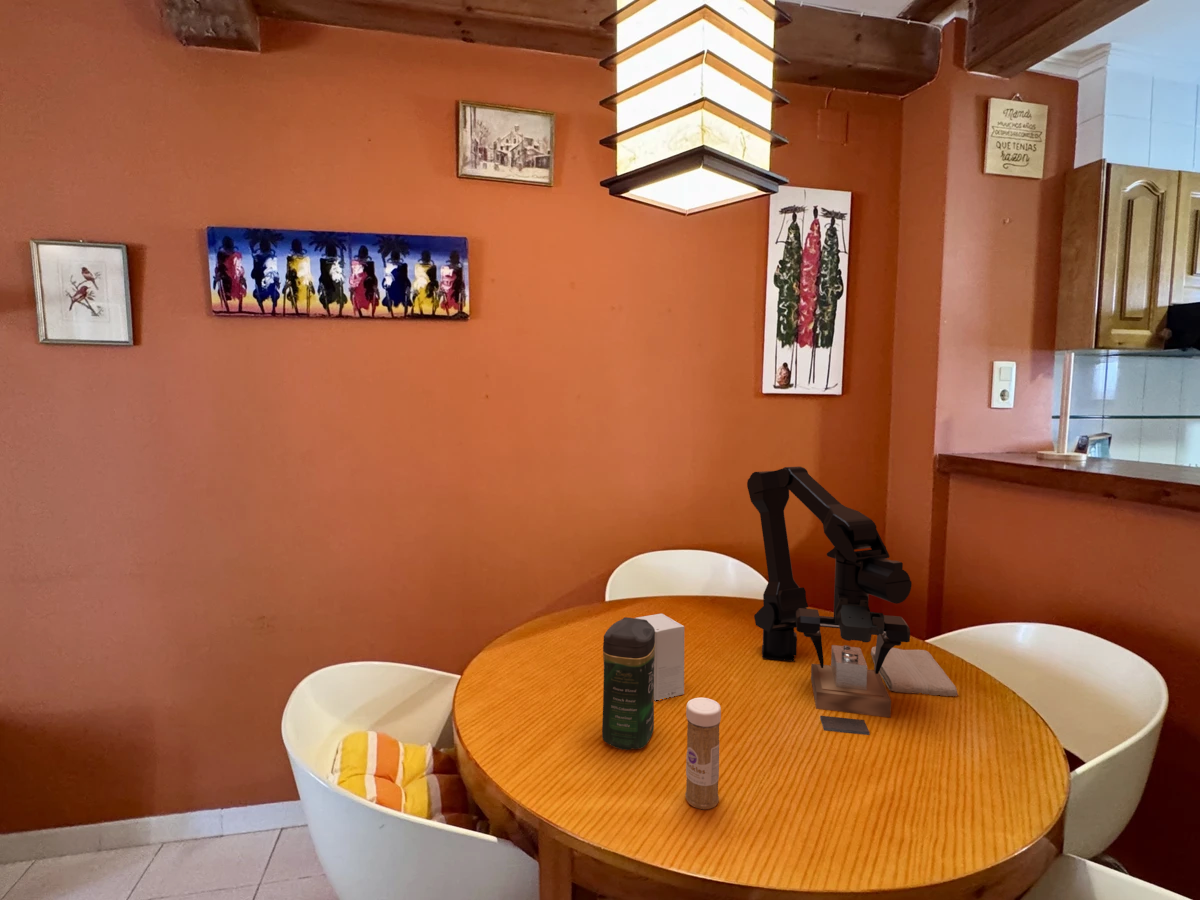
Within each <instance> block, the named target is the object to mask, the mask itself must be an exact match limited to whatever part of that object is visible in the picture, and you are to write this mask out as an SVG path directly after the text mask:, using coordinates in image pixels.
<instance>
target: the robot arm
mask: <svg viewBox="0 0 1200 900" xmlns="http://www.w3.org/2000/svg"><path fill="white" fill-rule="evenodd" d="M746 488H747V491H748V495H749V498H750V502H751V504H752V505H753V506H754V508H755V509H756V510H757V511H758V513H759V517H760V522H761V523H760V526H761V531H762V538H763V540H762V541H763V546H764V547H763V548H764V554H765V562H766V568H767V569H766V570H767V574H768V575H767V578H768V583H767V585H766V586H765V590H764V591H763V595H762V598H763V599H762V600H763V602H762V603H763V606H762V607H761V608H760V609H759V610H757V612H755V614H754V615H753V616H754V617H753V618H754V623H755V626H756V627H758V628H760V629H762V645H761V658H762V659H766V660H775V661H783V662H784V661H785V662H786V661H787V662H794V661H795V656H797V649H798V647H797V644H798V636H797V632H799V633H803V636H804V637H805V638H810V640H811V642H812V644H813V646H814V648H815V652H816V655H817V659H818V663H819V664H820V666H821V668H823V665H825V663H824V662H825V661H824V652H823V651H824V650H823V640H822V633H821V628H830V629H831V628H832V629H839V632H840V633H839V634H840V637H841V639H842V640H844V641H848V642H850V641H859V642H862V643H870V642H871V640H872V636H873V635H874V636H876V643H875V644H876V645H875V647H876V652H875V661H874V662H873V664H874V669H873V670H875V674H878V673H879V670H880V668H881V666H882V664H883V662H884V660H885V657H886V655H887V654H888V652H889V651H890V649H891V648H895V647H897V646H898V647H899V646H901V645H902V643H909V642H910V641H911V640H910V639H911V631H910V630H911V629H910V626H909V625H908V623H907V622H906V621H905V619H904V618H903V617H902V616H897V615H885V614H884V613H883V612H877V611H876V612H874V611H871V609H870V607H869V599H870V597H869V595H871V596H873V597H876V598H878V599H882V600H884V601H886V602H889V603H892V604H897V605H898V604H900V603H903V602H905V600H906V599H907V598H908V597H909V595H910V594H911V591H912V585H913V584H912V580H911V578H910V575H909V573H908V572H907V571H906V570H905V569H903V567H904V565H903V562H902V561H899V560H891V559H890V554H889V552H888V549H887V547H886V546H885V543H884V542H883V540H882V538H881V535H880V534H879V532H878V530H877V528H878V527H877V525H876V523H875V522H874V520H872V518H870V517H868V516H867V515H865V514H864V513H862V512H860V511H858V510H855V509H853V508H850V507H848V506H846V505H844V504H842V503H841V502H840V501H839V500H837V499H836V498H835V496H833V494H831V493H830V492H829V491H827V489H826V488H824V487H823V486H822V485H821V484H820V483H819V482H818V481H817V480H816V479H815V478H813V476H811V475H810V474H809V472H808V470H807V468H805V467H802V466H785V467H783V468H779V469H776V470H765V471H763V470H761V471H754V472H752V473H751V474H750V476H749V478H748V479H747V482H746ZM790 492H791V493H792V494H793V495H794V496H795V497H796V498H797V499H798V501H800V502H801V503H802V504H803V505H804V506H805V507H806V508H807V509H808V510H809V511H810V513H812V514H813V515H814V516H815V517H816V518H817V519H818V520H819V521H820V522H821V524H822V526H823V533H824V535H825V536H826V537H827V539H828V541H830V543H831V545H832V546H833V548H832V549H831V550H828V552H826V556H827V558H832V559H835V560H834V561H835V563H834V564H835V567H834V591H833V593H834V594H833V596H834V597H833V599H834V600H833V616H827V615H825V616H824V615H820V613H819V609H815V608H814V609H813V608H809V605H808V601H807V592H806V589H805V587H800V585H798V583H797V582H796V581H795V579H794V574H793V568H792V559H791V554H790V553H791V552H790V545H789V540H788V532H787V526H786V517H785V509H786V506H787V505H788V502H789V499H790ZM861 549H862V550H861ZM795 628H796V631H797V632H795ZM879 674H880V673H879Z"/></svg>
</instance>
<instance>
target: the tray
mask: <svg viewBox="0 0 1200 900" xmlns="http://www.w3.org/2000/svg"><path fill="white" fill-rule="evenodd" d="M810 666H811V667H810V680H811V681H810V682H811V686H812V693H813V696H814V703H815V709H816V710H817V709H819V710H827V711H833V712H834V711H835V712H842V713H850V714H852V713H853V714H859V715H860V714H861V715H866V716H874V717H876V716H877V717H885V718H891V714H892V713H891V710H892V700H891V697H890V695H889V692H888V690H887V688H886V686H885V685H886V684H885V682H884V680H883V678H882V676H881V675H880V673H878V674H875V669H869V668H867V686H866V690H858V689H849V688H840V687H836V685H835V681H834V677H833V673H832V670H831V664H830V665H828V664H824V665H823V668H821V666H820V663H811V665H810Z"/></svg>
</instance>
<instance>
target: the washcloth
mask: <svg viewBox="0 0 1200 900" xmlns="http://www.w3.org/2000/svg"><path fill="white" fill-rule="evenodd" d="M875 652H876V646H872V648H871V651H870V656H871V659H872V662H873V663H874V661H875ZM879 674H880V676H881V678H882V680H883V682H884V684H885V685H886V687H887V689H888V690H889V691H891V692H892V691H893V692H894V693H904V694H906V693H907V694H919V693H922V694H921V695H928V694H929V696H937V695H940V696H941V697H948V696H953V698H955V697H958V696H959V693H958V689H957V686H956V685H955V684H954V683H953V681H952V680H951V678H949V676H948V675H947V673H946V672H945V671H944V669H943V668H942V667H941V666H940V665H939V663H938V662H937V661H936V660H935V659H934V657H933V655H932V654H931V653H930V652H929V651H927V650H926V649H902V648H897V647H893V648H891V649H890V651H889V652H888V654H887V655H886V657H885V660H884V662H883V664H882V666H881V668H880V670H879ZM954 696H955V697H954Z"/></svg>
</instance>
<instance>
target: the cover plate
mask: <svg viewBox="0 0 1200 900" xmlns="http://www.w3.org/2000/svg"><path fill="white" fill-rule="evenodd" d="M819 719H820V722H821V725H822V729H823V731H825V732H834V733H835V732H836V733H844V734H845V733H846V734H855V735H865V736H870V734H871V733H870V730H869V728H868V725H867V724H866V720H864V719H858V718H857V719H856V718H850V717H849V718H848V717H838V716H836V717H835V716H829V715H828V716H827V715H819Z"/></svg>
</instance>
